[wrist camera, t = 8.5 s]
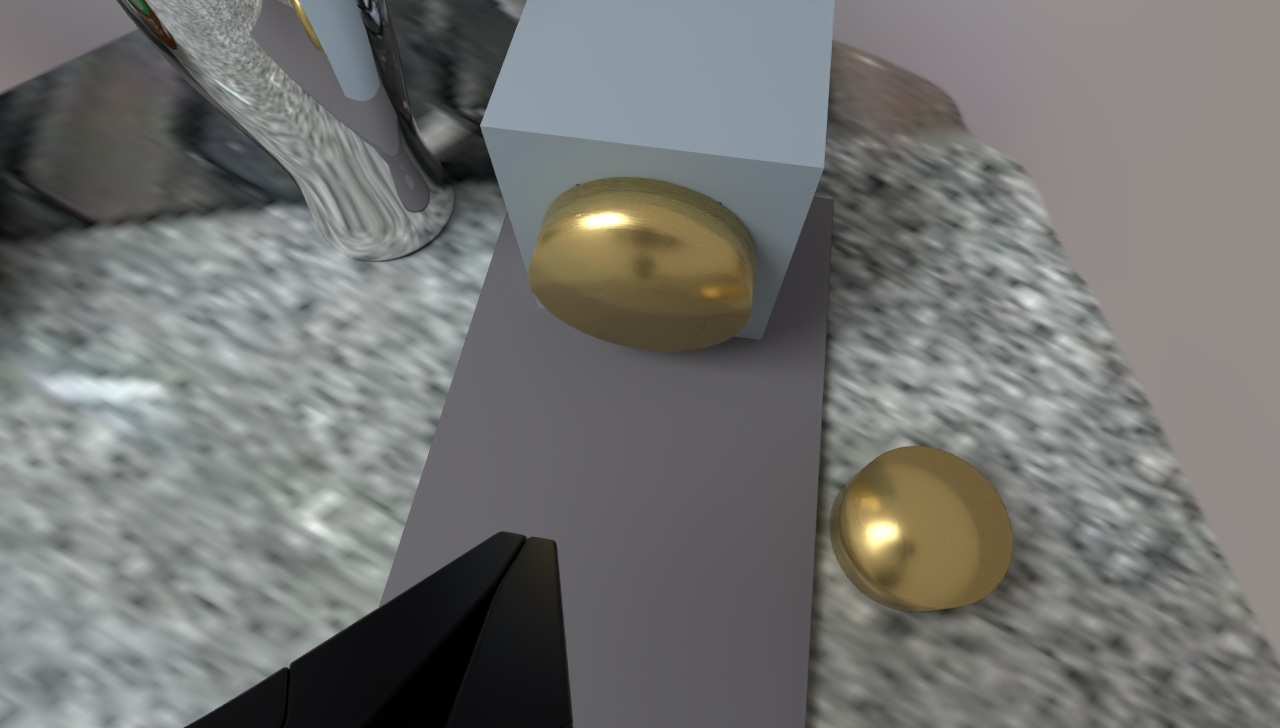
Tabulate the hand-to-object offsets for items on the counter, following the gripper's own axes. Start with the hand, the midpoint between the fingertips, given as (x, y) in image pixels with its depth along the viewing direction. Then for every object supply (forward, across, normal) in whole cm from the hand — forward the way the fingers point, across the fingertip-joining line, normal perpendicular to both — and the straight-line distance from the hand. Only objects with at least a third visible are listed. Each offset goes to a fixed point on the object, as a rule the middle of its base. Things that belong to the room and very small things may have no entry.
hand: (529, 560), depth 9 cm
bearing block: (+19, 0, -1) cm, 19 cm away
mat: (+14, 0, +5) cm, 14 cm away
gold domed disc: (+12, -10, +6) cm, 17 cm away
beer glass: (+20, +13, -1) cm, 24 cm away
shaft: (+19, 0, -4) cm, 20 cm away
